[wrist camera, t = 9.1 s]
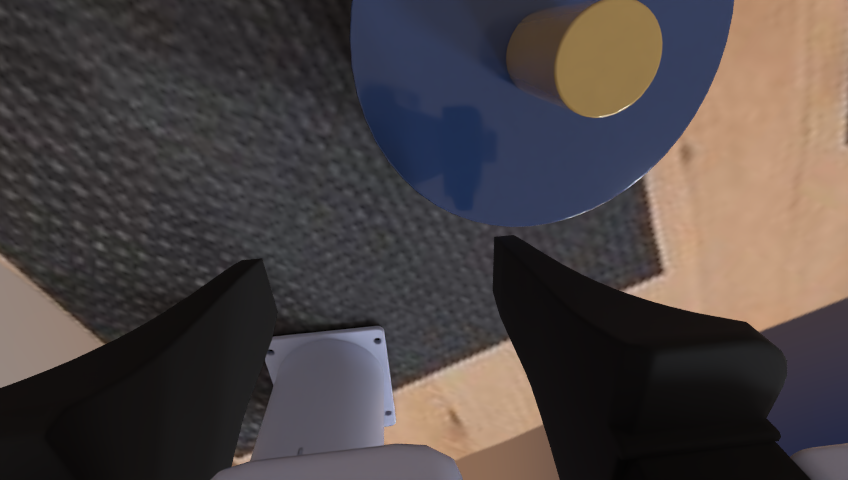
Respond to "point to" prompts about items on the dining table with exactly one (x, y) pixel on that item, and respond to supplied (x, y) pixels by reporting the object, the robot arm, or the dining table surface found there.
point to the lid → (531, 96)
